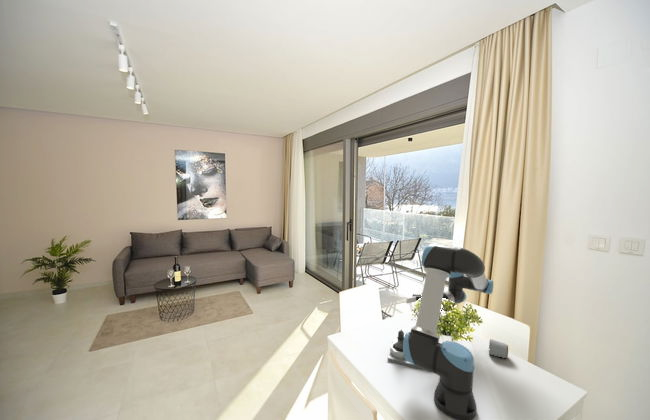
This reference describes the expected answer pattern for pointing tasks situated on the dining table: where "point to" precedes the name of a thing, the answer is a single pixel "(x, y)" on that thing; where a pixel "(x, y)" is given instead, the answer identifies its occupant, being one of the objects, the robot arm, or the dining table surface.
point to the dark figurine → (400, 341)
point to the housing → (400, 357)
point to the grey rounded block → (498, 348)
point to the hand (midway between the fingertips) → (416, 305)
